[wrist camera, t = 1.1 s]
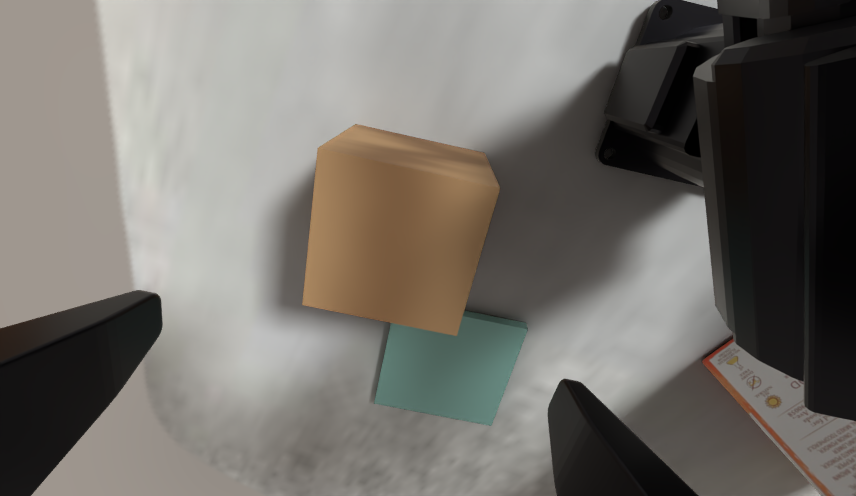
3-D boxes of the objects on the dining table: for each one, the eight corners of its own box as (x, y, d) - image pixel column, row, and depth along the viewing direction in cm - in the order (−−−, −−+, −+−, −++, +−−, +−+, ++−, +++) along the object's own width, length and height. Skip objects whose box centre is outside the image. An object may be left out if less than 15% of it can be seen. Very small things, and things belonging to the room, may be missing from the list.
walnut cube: (484, 152, 19) (500, 188, 13) (453, 266, 21) (456, 335, 16) (356, 123, 18) (317, 147, 13) (340, 242, 21) (302, 305, 15)
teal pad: (525, 323, 22) (527, 329, 22) (490, 418, 25) (491, 425, 25) (396, 296, 22) (395, 302, 21) (375, 396, 25) (374, 403, 24)
